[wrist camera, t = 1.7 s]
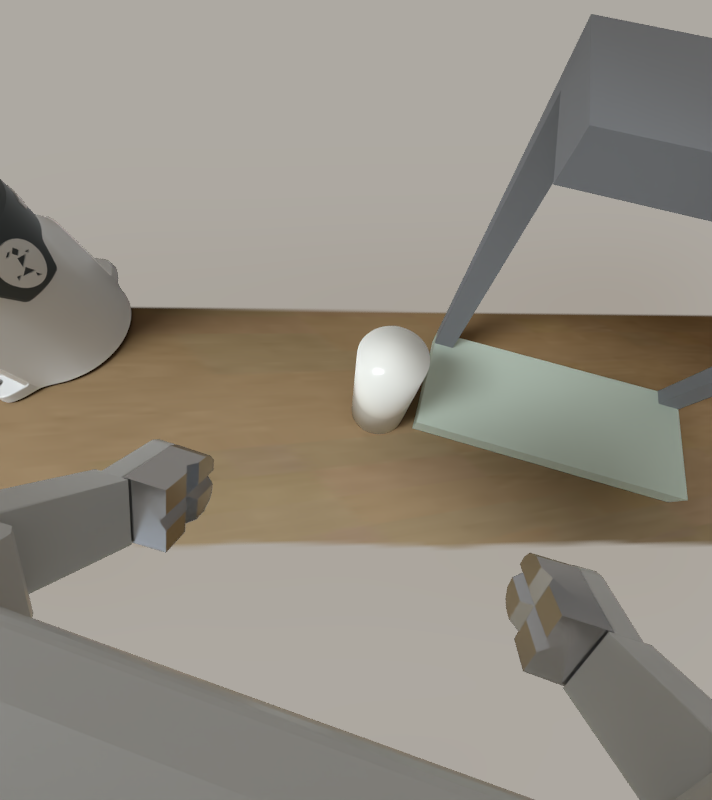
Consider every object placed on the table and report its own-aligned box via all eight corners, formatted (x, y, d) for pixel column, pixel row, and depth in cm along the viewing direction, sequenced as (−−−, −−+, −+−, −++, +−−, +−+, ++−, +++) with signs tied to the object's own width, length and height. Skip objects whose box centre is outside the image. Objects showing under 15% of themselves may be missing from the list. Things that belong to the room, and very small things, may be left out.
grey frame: (412, 428, 34) (588, 171, 10) (432, 341, 38) (591, 13, 14) (667, 502, 32) (1615, 407, 8) (659, 403, 37) (1275, 150, 12)
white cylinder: (345, 425, 34) (347, 378, 24) (359, 379, 36) (368, 318, 26) (396, 440, 33) (421, 399, 23) (408, 393, 36) (436, 336, 25)
